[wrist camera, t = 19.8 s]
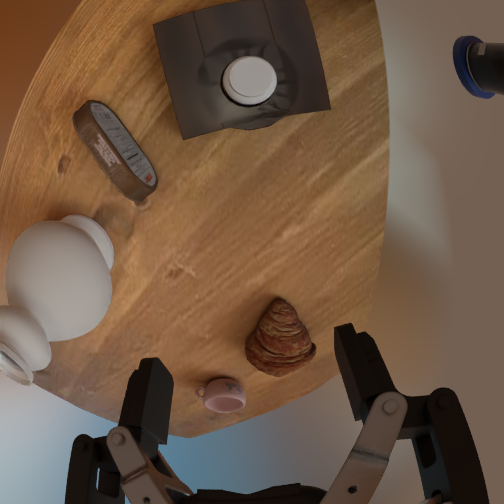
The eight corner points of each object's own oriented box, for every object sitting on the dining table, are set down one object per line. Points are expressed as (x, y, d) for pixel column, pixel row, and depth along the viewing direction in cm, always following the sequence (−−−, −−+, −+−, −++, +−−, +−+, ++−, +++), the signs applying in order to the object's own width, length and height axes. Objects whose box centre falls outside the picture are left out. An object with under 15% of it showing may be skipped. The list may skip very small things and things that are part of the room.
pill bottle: (278, 84, 29) (294, 77, 21) (249, 113, 31) (254, 116, 23) (245, 57, 27) (249, 40, 19) (216, 86, 29) (208, 80, 21)
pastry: (219, 336, 51) (218, 370, 44) (280, 292, 46) (287, 327, 39) (275, 368, 58) (279, 398, 51) (331, 334, 53) (342, 365, 46)
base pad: (297, 1, 23) (303, -6, 20) (324, 115, 31) (332, 116, 29) (158, 30, 24) (152, 24, 21) (189, 143, 33) (184, 147, 30)
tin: (92, 109, 28) (58, 115, 21) (108, 94, 28) (76, 96, 20) (150, 190, 35) (130, 215, 28) (168, 178, 35) (150, 199, 28)
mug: (250, 377, 59) (252, 398, 54) (237, 396, 64) (238, 415, 59) (200, 368, 56) (198, 390, 51) (192, 388, 61) (190, 408, 56)
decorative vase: (29, 232, 37) (-53, 324, 15) (84, 176, 33) (-35, 275, 12) (86, 302, 45) (36, 410, 24) (149, 266, 42) (100, 406, 20)
